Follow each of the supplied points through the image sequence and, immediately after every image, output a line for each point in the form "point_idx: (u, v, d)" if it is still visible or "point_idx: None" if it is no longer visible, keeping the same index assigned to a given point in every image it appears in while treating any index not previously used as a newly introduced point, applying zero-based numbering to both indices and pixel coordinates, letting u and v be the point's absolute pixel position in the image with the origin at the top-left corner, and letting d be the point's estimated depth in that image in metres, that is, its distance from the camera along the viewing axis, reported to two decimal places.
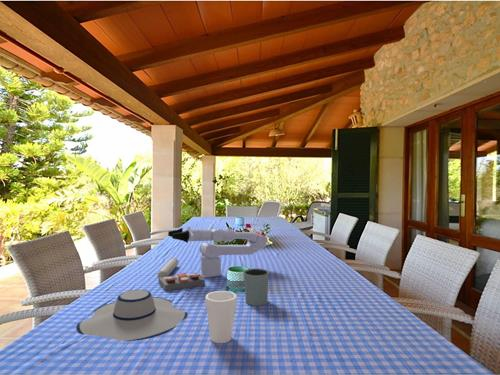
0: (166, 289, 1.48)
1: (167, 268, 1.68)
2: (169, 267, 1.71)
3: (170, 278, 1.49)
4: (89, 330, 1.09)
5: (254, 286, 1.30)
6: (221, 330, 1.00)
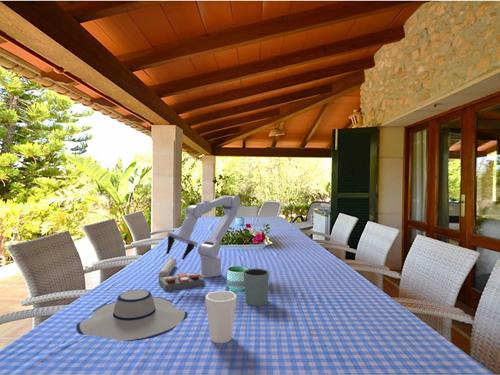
0: (166, 289, 1.48)
1: (167, 268, 1.69)
2: (169, 267, 1.71)
3: (170, 278, 1.49)
4: (89, 330, 1.09)
5: (254, 286, 1.30)
6: (221, 330, 1.00)
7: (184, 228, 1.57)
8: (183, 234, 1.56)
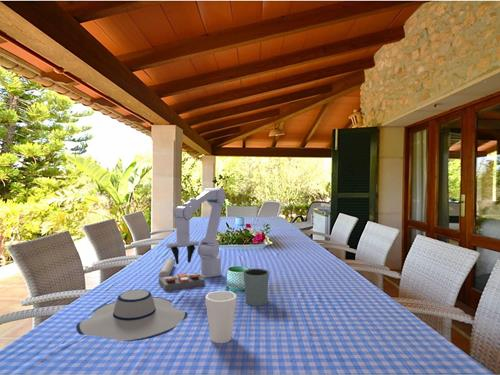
0: (166, 289, 1.48)
1: (167, 268, 1.69)
2: (169, 267, 1.71)
3: (170, 278, 1.49)
4: (89, 330, 1.09)
5: (254, 286, 1.30)
6: (221, 330, 1.00)
7: (183, 235, 1.51)
8: (185, 241, 1.51)
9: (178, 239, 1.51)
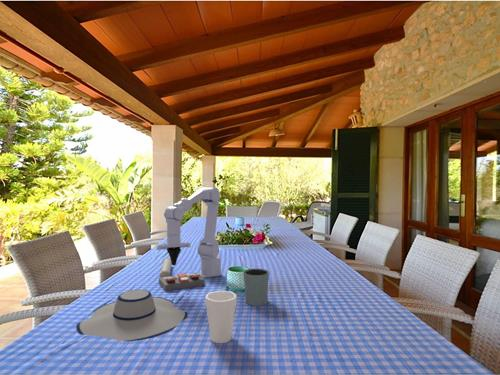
0: (166, 289, 1.48)
1: (167, 268, 1.69)
2: (168, 267, 1.72)
3: (170, 278, 1.49)
4: (89, 330, 1.09)
5: (254, 286, 1.30)
6: (221, 330, 1.00)
7: (174, 236, 1.47)
8: (175, 242, 1.48)
9: (169, 240, 1.48)
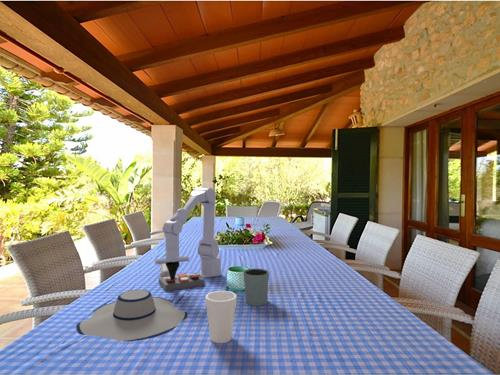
0: (166, 289, 1.48)
1: None
2: None
3: (170, 278, 1.49)
4: (89, 330, 1.09)
5: (254, 286, 1.30)
6: (221, 330, 1.00)
7: (172, 251, 1.47)
8: (174, 257, 1.47)
9: (167, 255, 1.47)
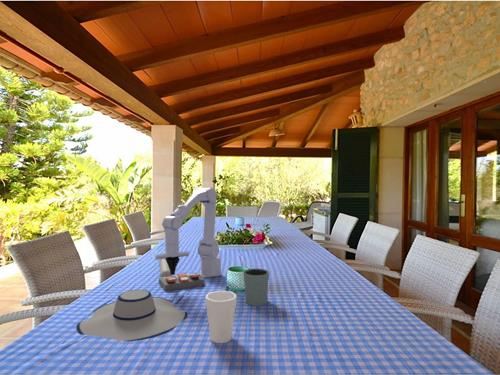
0: (166, 289, 1.48)
1: (168, 268, 1.69)
2: (168, 267, 1.72)
3: (170, 279, 1.49)
4: (89, 330, 1.09)
5: (254, 286, 1.30)
6: (221, 330, 1.00)
7: (172, 246, 1.47)
8: (174, 252, 1.47)
9: (167, 250, 1.47)
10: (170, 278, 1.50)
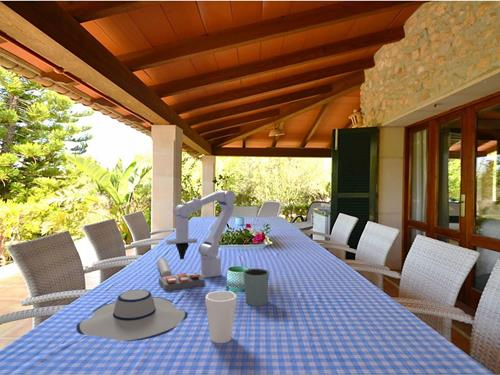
0: (166, 289, 1.48)
1: (168, 268, 1.69)
2: (168, 267, 1.72)
3: (170, 280, 1.49)
4: (89, 330, 1.09)
5: (254, 286, 1.30)
6: (221, 330, 1.00)
7: (182, 232, 1.58)
8: (184, 238, 1.59)
9: (177, 236, 1.59)
10: (170, 278, 1.50)
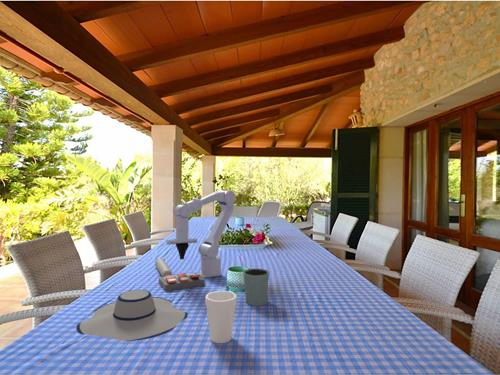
0: (166, 289, 1.48)
1: (168, 268, 1.69)
2: (167, 267, 1.72)
3: (170, 281, 1.49)
4: (89, 330, 1.09)
5: (254, 286, 1.30)
6: (221, 330, 1.00)
7: (182, 232, 1.58)
8: (184, 238, 1.59)
9: (177, 236, 1.59)
10: (170, 279, 1.50)
